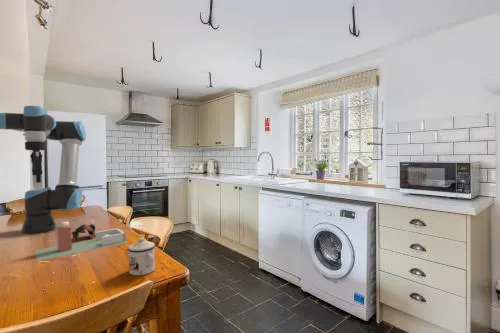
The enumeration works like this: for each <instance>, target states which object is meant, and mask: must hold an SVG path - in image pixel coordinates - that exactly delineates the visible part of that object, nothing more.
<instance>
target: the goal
mask: <svg viewBox="0 0 500 333" xmlns="http://www.w3.org/2000/svg"><path fill="white" fill-rule="evenodd" d="M104 235H109V236H104ZM95 236H96V237H95V239H96V240H97V241H98V240H102V246H106V245H110V244H115V243H120V242H125V241H127V240H126V232H124V231H123V230H121V229H120V228H111V229H106V230H100V231H96V232H95Z"/></svg>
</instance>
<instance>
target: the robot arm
mask: <svg viewBox="0 0 500 333" xmlns="http://www.w3.org/2000/svg"><path fill="white" fill-rule="evenodd" d="M0 130H6V131H7V130H13V131H18V132H22V136H23V137H24V140H25V142H24V149H25V150H26V151H32V152H31V154H30V159H31V161H30V162H31V165H32V166H31V167H32V168H31V172H32V175H31V176H32V189H30V190H27V191H26V192H24V213H25V218H24V221H23V224H22V227H21V233H22V234H36V233H37V234H38V233H44V232H48V231H52V230H54V229H57V223H56V221H55V219H54V217H53V215H52V214H53V213H52V211H62V210H64V211H65V210H67V211H68V210H69V211H70V210H75V209H78V208H80V206H81V204H82V202H83V201H82V200H83V196H84V195H83V189H82V188H80V185H78V184H77V183H78V169H79V168H78V165H79V164H78V163H79V150H80V146H82V145H83V142H84V141H86V139H87V135H86V129H85V126H84V124H83V123H82V122H81V121H67V120H66V121H63V120H62V121H60V120H58V121H57V120H56V119H55V118H54V117H53V116H51V114H50V115H49V114H46V109H45V108H44V107H43V106H38V105H25V106H24V107H23V113H12V112H0ZM47 140H50V141H59V143H60V144H61V152H60V154H61V155H60V165H59V166H60V169H59V178H58V180H59V181H58V184H56V185H55V186H54V187H55V189H52V188H51V187H50V186H49V187H44V186H43V183H44V182H43V164H42V163H43V154H42V152H41V151H46V150H47V142H46V141H47ZM33 188H34V189H33Z"/></svg>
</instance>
